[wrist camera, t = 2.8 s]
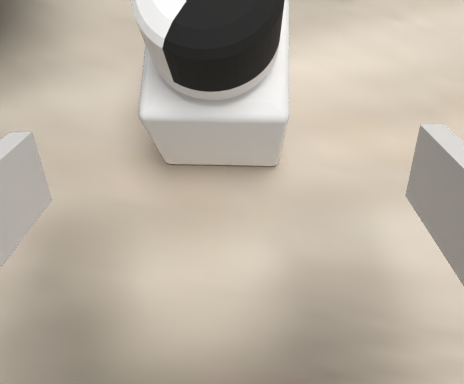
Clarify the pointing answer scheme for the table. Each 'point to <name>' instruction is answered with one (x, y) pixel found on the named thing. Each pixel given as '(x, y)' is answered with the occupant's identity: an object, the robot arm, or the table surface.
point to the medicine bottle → (215, 79)
